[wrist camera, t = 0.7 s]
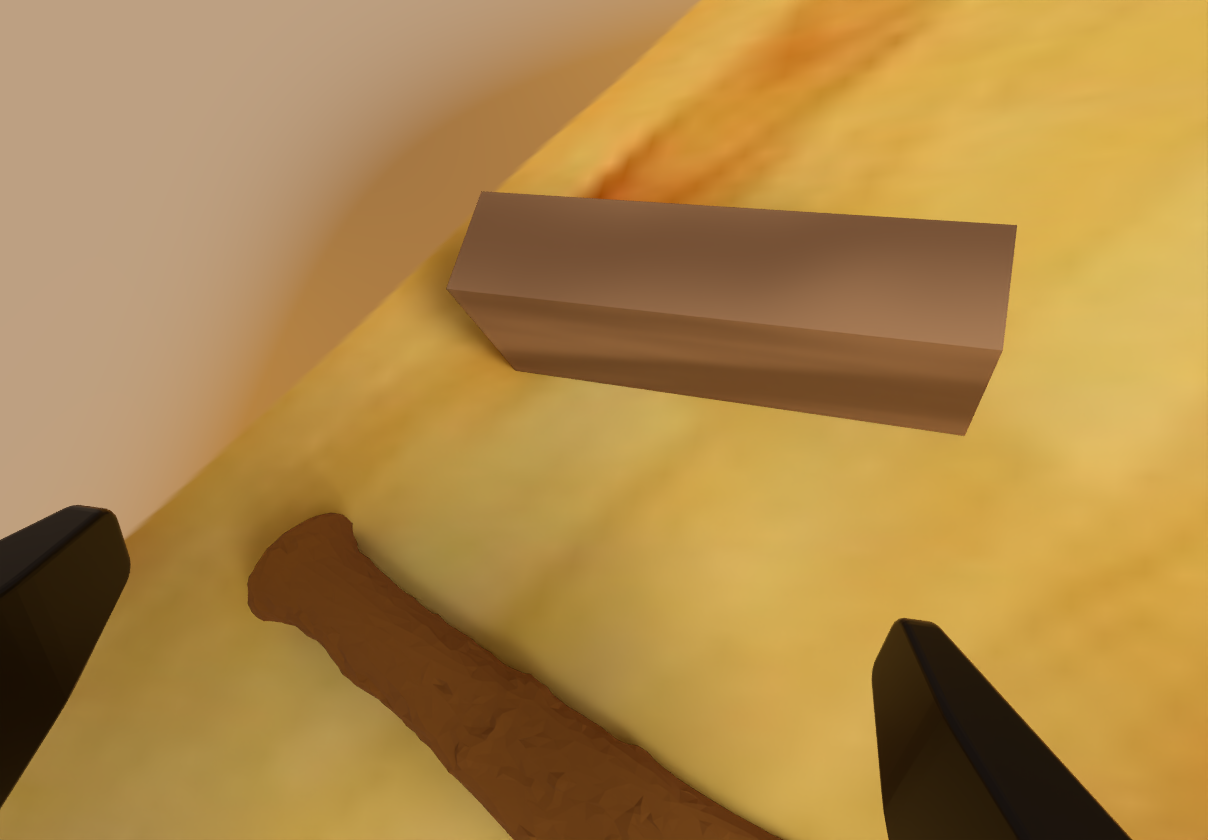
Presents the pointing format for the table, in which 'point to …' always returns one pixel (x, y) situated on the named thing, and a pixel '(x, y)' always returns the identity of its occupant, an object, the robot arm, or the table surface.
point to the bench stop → (744, 303)
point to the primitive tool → (476, 704)
